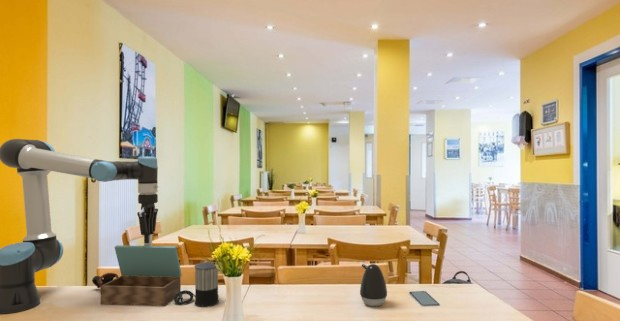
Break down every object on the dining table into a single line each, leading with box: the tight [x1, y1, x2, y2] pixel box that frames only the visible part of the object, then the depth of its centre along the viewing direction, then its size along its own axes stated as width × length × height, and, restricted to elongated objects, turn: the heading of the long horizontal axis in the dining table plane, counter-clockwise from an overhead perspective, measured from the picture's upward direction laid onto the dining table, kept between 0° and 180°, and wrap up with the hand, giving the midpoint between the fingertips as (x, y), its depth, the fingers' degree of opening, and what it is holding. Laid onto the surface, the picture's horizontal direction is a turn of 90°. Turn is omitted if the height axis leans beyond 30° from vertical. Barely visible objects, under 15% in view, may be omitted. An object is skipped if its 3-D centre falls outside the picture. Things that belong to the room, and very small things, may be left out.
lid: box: [114, 245, 182, 278], centre depth 164 cm, size 26×14×2 cm
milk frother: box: [173, 261, 220, 308], centre depth 154 cm, size 14×16×15 cm
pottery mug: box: [91, 272, 119, 293], centre depth 170 cm, size 12×10×8 cm
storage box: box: [99, 275, 182, 307], centre depth 159 cm, size 26×14×7 cm, turn 84°
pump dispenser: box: [359, 263, 388, 307], centre depth 151 cm, size 10×10×15 cm
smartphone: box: [408, 290, 440, 307], centre depth 156 cm, size 7×1×15 cm
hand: (148, 250), depth 164 cm, fingers closed
